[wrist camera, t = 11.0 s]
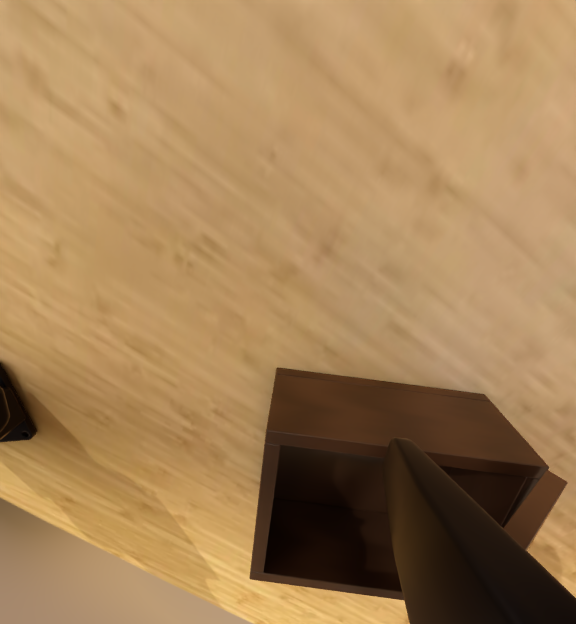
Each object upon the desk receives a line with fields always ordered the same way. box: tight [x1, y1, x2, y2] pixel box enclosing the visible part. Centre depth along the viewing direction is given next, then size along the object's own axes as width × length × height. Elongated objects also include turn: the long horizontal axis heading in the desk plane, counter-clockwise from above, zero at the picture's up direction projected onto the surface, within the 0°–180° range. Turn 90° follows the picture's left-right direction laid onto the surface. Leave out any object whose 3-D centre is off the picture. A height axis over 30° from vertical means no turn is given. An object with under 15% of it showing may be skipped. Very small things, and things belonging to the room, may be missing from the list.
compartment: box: [250, 368, 549, 600], centre depth 20 cm, size 14×12×6 cm
